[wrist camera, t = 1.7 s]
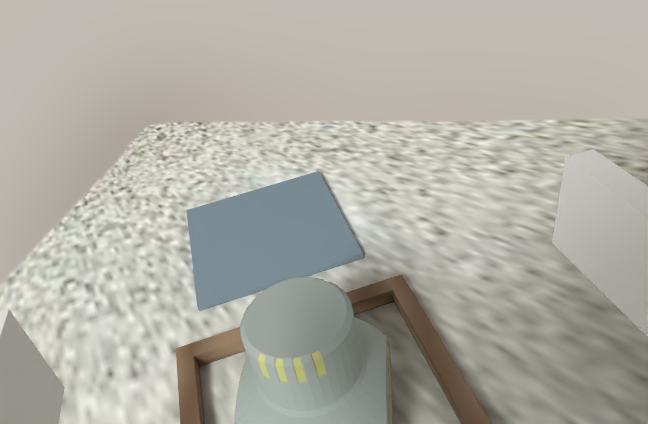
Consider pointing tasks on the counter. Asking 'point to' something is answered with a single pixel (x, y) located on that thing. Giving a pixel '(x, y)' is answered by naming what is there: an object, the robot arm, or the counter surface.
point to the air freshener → (312, 359)
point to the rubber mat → (267, 239)
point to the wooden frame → (361, 300)
